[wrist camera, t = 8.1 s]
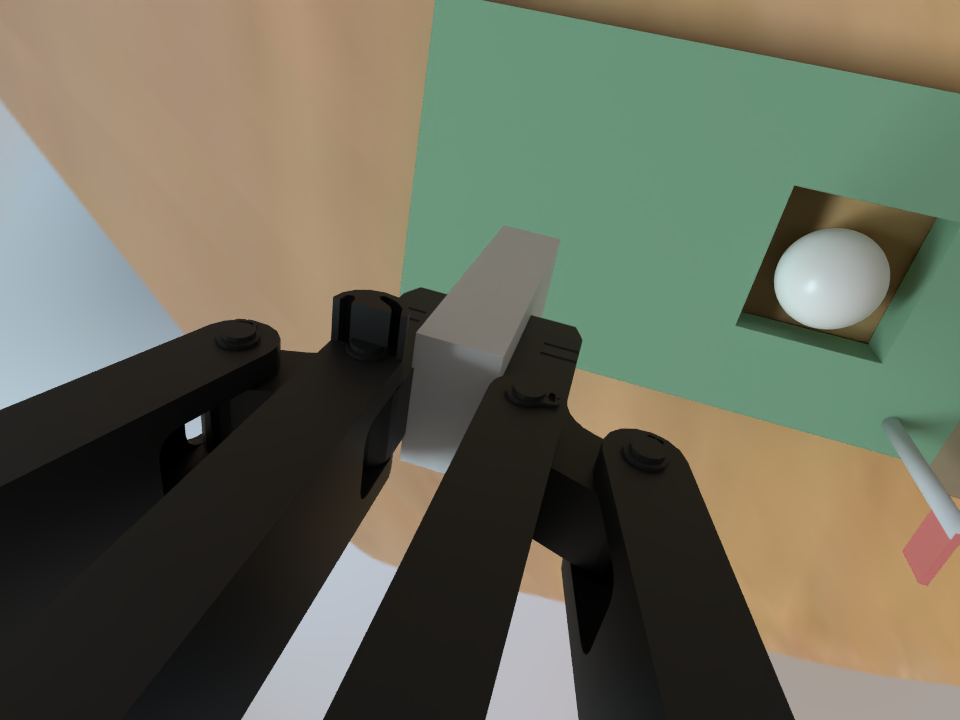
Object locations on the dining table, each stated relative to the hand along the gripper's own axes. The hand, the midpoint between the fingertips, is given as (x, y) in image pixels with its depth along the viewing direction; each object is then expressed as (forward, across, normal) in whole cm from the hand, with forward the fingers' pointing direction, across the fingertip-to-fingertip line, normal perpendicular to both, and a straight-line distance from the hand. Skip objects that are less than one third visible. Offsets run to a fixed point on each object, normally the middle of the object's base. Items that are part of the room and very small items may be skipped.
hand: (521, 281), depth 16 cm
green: (+13, +6, -1) cm, 14 cm away
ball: (+11, +11, -1) cm, 15 cm away
